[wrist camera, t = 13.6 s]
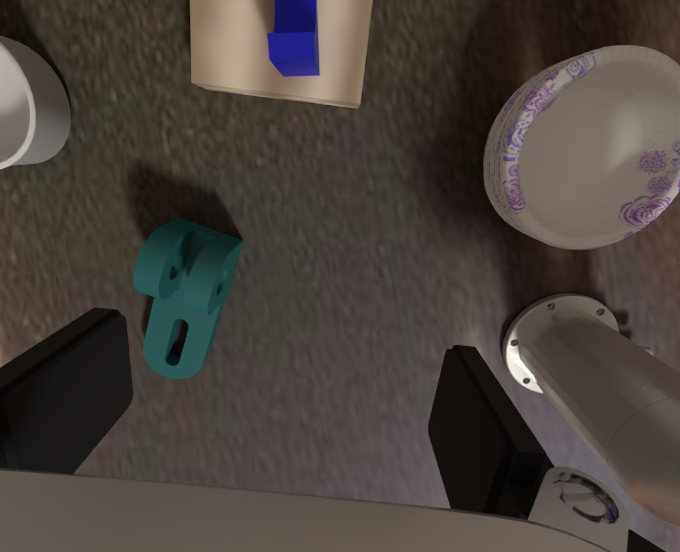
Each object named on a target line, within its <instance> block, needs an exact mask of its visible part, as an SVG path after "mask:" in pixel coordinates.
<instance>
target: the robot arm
mask: <svg viewBox="0 0 680 552" xmlns="http://www.w3.org/2000/svg"><path fill="white" fill-rule="evenodd" d="M502 351H503V359H504V362H505V365H506V368H507V369H508V371H509V372H510V374H511V375H512V376H513V378H514V379H515V380H516V381H517V382H518V383H519V384H521V385H522V386H524V387H526V388H528V389H530V390H532V391H535V392H539V393H544V394H545V395H546V396H547V398H548V399H549V400H550V401H551V403H552V404H553V405H554V406H555V407H556V409H557V410H558V411H559V412H560V413H561V415H562V416H563V417H564V418H565V420H566V421H567V422H568V423H569V424H570V426H571V427H572V428H573V429H574V430H575V432H576V433H577V434H578V435H579V437H580V438H581V439H582V440H583V441H584V443H585V444H586V445H587V446H588V447H589V449H590V450H591V451H592V452H593V454H594V455H595V456H596V457H597V458H598V460H599V461H600V462H601V463H602V465H603V466H604V467H605V468H606V469H607V471H608V472H609V473H610V474H611V475H612V477H613V478H614V479H615V480H616V481H617V483H618V484H619V485H620V486H621V487H622V489H623V490H624V491H625V492H626V493H627V494H628V495H629V496H630V498H631V499H632V500H634V501H635V502H636V503H637V504H638V505H639V506H640V507H642V508H643V509H644V510H646V511H647V512H649V513H650V514H652V515H653V516H655V517H657V518H658V519H660V520H662V521H665V522H667V523H669V524H671V525H673V526H676V527H678V528H680V373H678V372H677V371H675V370H674V369H672V368H671V367H669V366H668V365H666V364H665V363H663V362H662V361H660V360H659V359H657V358H656V357H654V356H653V352H652V350H651V349H650V348H649V347H643V346H638V345H636V344H635V343H633V342H632V341H630V340H629V339H627V338H626V337H624V336H623V335H621V334H620V333H619V328H618V323H617V321H616V319H615V317H614V315H613V314H612V313H611V311H610V310H609V309H608V308H607V307H606V306H604V305H603V304H601V303H600V302H598V301H597V300H595V299H593V298H591V297H588V296H585V295H582V294H575V293H562V294H556V295H552V296H548V297H545V298H543V299H540V300H538V301H536V302H534V303H533V304H531V305H530V306H528V307H527V308H525V309H524V310H523V311H522V312H521V313H520V314H519V315H518V316H517V317H516V318H515V319H514V320H513V322H512V323H511V325H510V327H509V328H508V330H507V332H506V335H505V338H504V341H503V348H502ZM132 398H133V388H132V377H131V366H130V355H129V344H128V334H127V323H126V318H125V316H123V315H121V314H120V312H119V311H118V310H115V309H105V308H93V309H91V310H90V311H88V312H87V313H85V314H83V315H82V316H80V317H79V318H77V319H76V320H74V321H73V322H71V323H69V324H68V325H66V326H65V327H63V328H62V329H60V330H58V331H57V332H55V333H54V334H52V335H51V336H49V337H47V338H46V339H44V340H43V341H41V342H40V343H38V344H37V345H35V346H33V347H32V348H30V349H29V350H27V351H26V352H24V353H22V354H21V355H19V356H18V357H16V358H15V359H13V360H12V361H10V362H8V363H7V364H5V365H4V366H2V367H1V368H0V552H665V551H664V550H662V549H660V548H659V547H657V546H656V545H654V544H652V543H651V542H649V541H648V540H646V539H644V538H643V537H641V536H640V535H638V534H637V533H635V532H633V531H632V530H630V529H629V518H628V512H627V510H626V509H625V507H624V505H623V503H622V502H621V501H620V499H619V498H618V497H617V496H616V495H615V494H614V493H613V492H612V491H611V490H610V489H609V488H608V487H606V486H605V485H604V484H603V483H602V482H600V481H598V480H597V479H595V478H594V477H592V476H590V475H588V474H586V473H584V472H582V471H579V470H577V469H573V468H569V467H554V465H553V464H552V462H551V461H550V459H549V458H548V456H547V455H546V452H545V451H544V449H543V448H542V446H541V445H540V443H539V442H538V440H537V439H536V437H535V436H534V434H533V433H532V431H531V430H530V428H529V427H528V425H527V424H526V422H525V421H524V419H523V418H522V416H521V415H520V413H519V412H518V410H517V409H516V407H515V406H514V404H513V403H512V401H511V400H510V398H509V397H508V395H507V394H506V392H505V391H504V389H503V388H502V386H501V385H500V383H499V382H498V380H497V379H496V377H495V376H494V374H493V373H492V371H491V370H490V368H489V367H488V365H487V364H486V362H485V361H484V359H483V358H482V356H481V355H480V353H479V352H478V350H477V349H476V348H475V347H471V346H461V345H454V346H453V348H452V349H447V351H446V353H445V356H444V361H443V365H442V369H441V373H440V377H439V382H438V386H437V390H436V394H435V398H434V402H433V407H432V411H431V415H430V419H429V424H428V432H429V437H430V440H431V444H432V447H433V450H434V454H435V457H436V460H437V464H438V467H439V470H440V474H441V477H442V480H443V484H444V487H445V490H446V494H447V497H448V500H449V504H450V507H451V509H449V508H438V507H428V506H418V505H407V504H397V503H387V502H376V501H366V500H356V499H345V498H335V497H324V496H314V495H304V494H293V493H282V492H271V491H260V490H249V489H238V488H227V487H216V486H205V485H194V484H182V483H171V482H160V481H148V480H136V479H124V478H112V477H101V476H89V475H77V474H73V473H74V472H75V471H76V470H77V469H78V467H79V466H80V465H81V464H82V463H83V461H84V460H85V459H86V458H87V457H88V455H89V454H90V453H91V452H92V450H93V449H94V448H95V447H96V446H97V444H98V443H99V442H100V441H101V440H102V438H103V437H104V436H105V435H106V434H107V432H108V431H109V430H110V429H111V428H112V426H113V425H114V424H115V423H116V422H117V420H118V419H119V418H120V417H121V416H122V414H123V413H124V412H125V411H126V409H127V408H128V407H129V405H130V404H131V401H132Z"/></svg>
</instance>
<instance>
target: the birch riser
mask: <svg viewBox="0 0 680 552" xmlns="http://www.w3.org/2000/svg"><path fill="white" fill-rule="evenodd" d="M372 1H373V0H317V13H318V39H319V66H320V76H290V77H283V76H282V75H281V73H280V72H279V71H278V70H277V69H276V67H275V66H274V65H273V64H272V62H271V61H270V60H269V50H268V37H267V33H273V30H274V22H275V0H190V30H191V79H192V83H194V84H196V85H198V86H200V87H203V88H205V89H207V90H212V91H220V92H229V93H237V94H245V95H253V96H261V97H269V98H277V99H286V100H294V101H302V102H310V103H318V104H326V105H334V106H342V107H351V108H359V106H360V102H361V93H362V85H363V77H364V68H365V60H366V52H367V43H368V35H369V26H370V18H371V10H372Z"/></svg>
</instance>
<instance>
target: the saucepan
mask: <svg viewBox="0 0 680 552" xmlns="http://www.w3.org/2000/svg"><path fill="white" fill-rule="evenodd" d="M70 127H71V112H70V105H69V101H68V98H67V95H66V92H65V89H64V87H63V85H62V83H61V81H60V79H59V77H58V76H57V75H56V73H55V72H54V71H53V69H52V68H51V66H50V65H49V64H48V63H47V62H46V61H45V60H44V59H43V58H42V57H41V56H40V55H39V54H37V53H36V52H34V51H33V50H32V49H30V48H29V47H27V46H25V45H23V44H21V43H20V42H18V41H15V40H12V39H9V38H6V37H3V36H0V169H2V168H5V167H8V166H10V165H25V164H35V163H41V162H43V161H46V160H49V159H50V158H52V157H53V156H55V155H56V154H57V153H58V152H59V151H60V150H61V149H62V147H63V146H64V144H65V142H66V140H67V138H68V135H69V131H70Z"/></svg>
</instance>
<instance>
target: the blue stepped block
mask: <svg viewBox="0 0 680 552" xmlns="http://www.w3.org/2000/svg"><path fill="white" fill-rule="evenodd" d="M267 37H268V50H269V60H270V61H271V62H272V64H273V65H274V66H275V67H276V69H277V70H278V71H279V72H280V73H281V75H282V76H283V77H290V76H320V66H319V39H318V13H317V0H275V22H274V30H273V33H267Z"/></svg>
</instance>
